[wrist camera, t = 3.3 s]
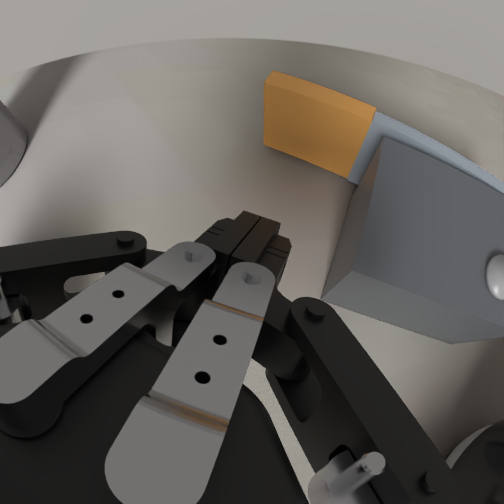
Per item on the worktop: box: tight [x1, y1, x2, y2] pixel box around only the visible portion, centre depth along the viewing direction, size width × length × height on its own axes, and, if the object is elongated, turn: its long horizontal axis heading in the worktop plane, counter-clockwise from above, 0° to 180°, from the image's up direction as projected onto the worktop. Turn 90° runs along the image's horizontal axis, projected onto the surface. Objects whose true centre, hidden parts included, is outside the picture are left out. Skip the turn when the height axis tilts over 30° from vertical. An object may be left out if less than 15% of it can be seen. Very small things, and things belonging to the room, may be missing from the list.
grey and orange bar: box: [264, 70, 504, 195], centre depth 20 cm, size 19×2×7 cm, turn 64°
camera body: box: [320, 137, 504, 344], centre depth 17 cm, size 14×8×8 cm, turn 69°
